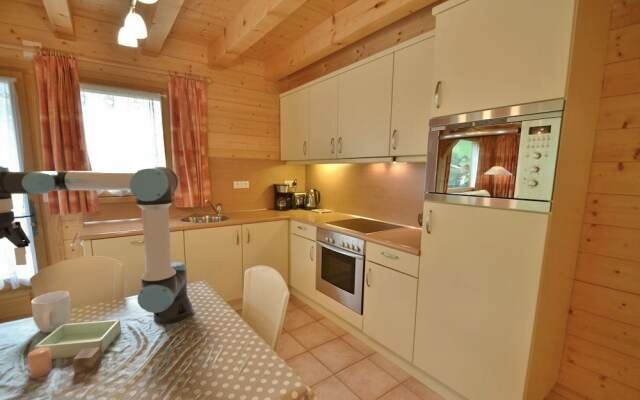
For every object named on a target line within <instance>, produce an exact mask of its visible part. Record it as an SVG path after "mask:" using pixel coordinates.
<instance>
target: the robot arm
mask: <svg viewBox="0 0 640 400" xmlns="http://www.w3.org/2000/svg"><path fill="white" fill-rule="evenodd" d="M178 186H179V179H178V175H177V174H176V172H175V171H174V170H172V169H170V168H168V167H166V166H147V167H144V168H143V167H142V168H141V169H139V170H136V171H130V170H129V171H127V170H126V171H123V170H122V171H118V170H117V171H116V170H115V171H107V170H106V171H104V170H103V171H102V170H101V171H100V170H99V171H96V170H91V171H90V170H89V171H88V170H87V171H85V170H83V171H82V170H78V171H77V170H70V171H69V170H50V171H44V170H43V171H10V170H9V167H8V166H6V165H0V240H2V239H4V238H6V239H7V240H8V241H9V242H10V243H12V244H13V246H15V247H14V249H13V250H14V257H15V265H16V266H25V265H27V264H28V263H27V257H26V255H27V251H26V247H29V244H30V243H31V241H30V239H29V237H28V236H27V234H26V233H25V231H24V230H23V229H24V228H23V227H22V226H21V225H22V224H21V222H20V221H15V213H14V211H13V210H14V203H13V195H15V194H17V195H18V194H19V195H21V194H22V195H26V194H27V195H41V194H42V195H44V194H49V193H51V192H56V191H57V192H58V191H130V192H131V194H132V195H133V196H134V197H135V202H136V206H137V207H139V208H140V209H141V218H142V231H143V233H142V234H143V246H144V248H143V249H144V250H143V251H144V264H145V272H144V273H143V274H141V277H140V278H141V279H140V280H141V290H139V292H138V295H137V298H136V299H137V304H138V305H139V308H141V309H142V310H145V311H146V312H148V313H151V314H152V313H153V315H152V316H153V321H154V322H155V323H158V324H172V323H177V322H180V321H183V320H184V319H187V318H188V317H189V316H190V315H191V314H192V312H193V305H192V303H191V300H190V299H189V296H188V286H187V283H188V281H187V267H186V266H187V265H186V263H184V262H182V261H181V262H180V261H178V262H177V261H173V262H172V254H171V253H172V252H171V251H172V250H171V235H170V234H171V233H170V231H171V230H170V215H169V208H170V206H172V204H173V193H174V192H175V191H177V189H178Z"/></svg>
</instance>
